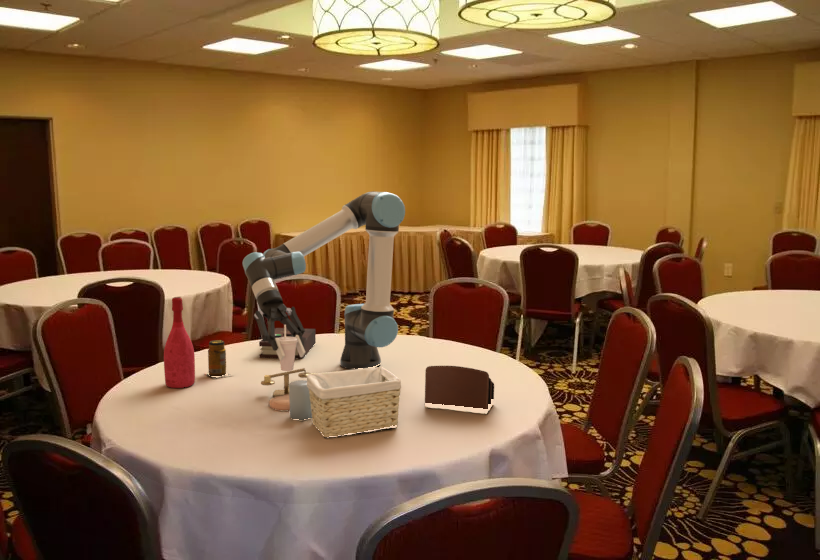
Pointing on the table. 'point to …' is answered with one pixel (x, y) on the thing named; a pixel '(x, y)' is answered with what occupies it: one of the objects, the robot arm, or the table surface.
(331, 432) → the storage basket
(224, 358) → the condiment
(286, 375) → the balance
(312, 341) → the dark electronic device
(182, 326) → the wine bottle
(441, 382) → the toaster
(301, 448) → the table surface
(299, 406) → the grey domed cylinder
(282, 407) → the dish
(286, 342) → the smoothie
